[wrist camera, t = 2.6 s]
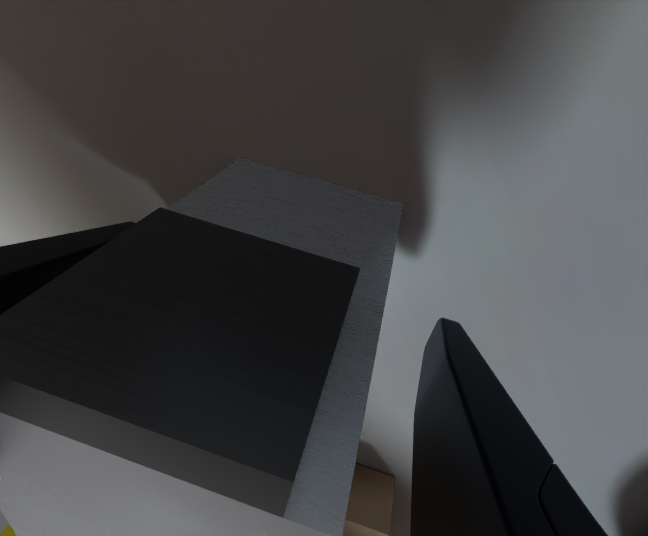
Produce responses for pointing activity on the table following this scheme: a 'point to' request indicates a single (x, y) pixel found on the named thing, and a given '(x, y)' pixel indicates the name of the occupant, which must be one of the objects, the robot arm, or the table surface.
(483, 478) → the robot arm
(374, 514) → the wooden tray stand
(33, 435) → the grey rectangular block
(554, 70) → the table surface
